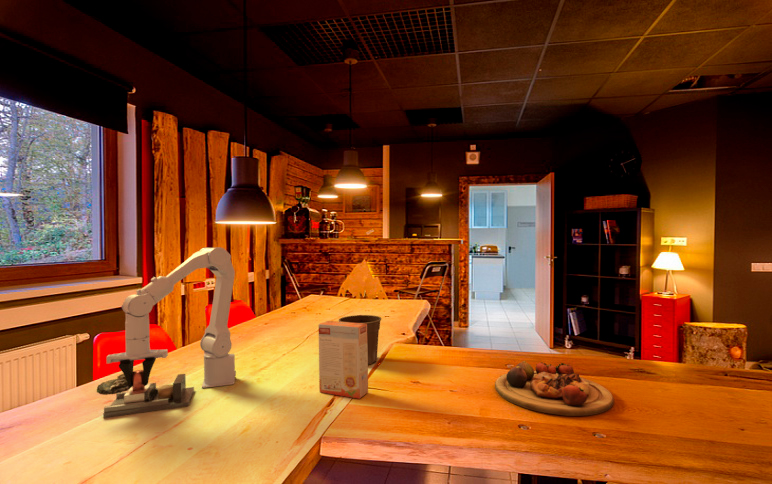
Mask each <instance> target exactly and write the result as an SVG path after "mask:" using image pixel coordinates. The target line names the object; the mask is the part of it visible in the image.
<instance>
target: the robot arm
mask: <svg viewBox="0 0 772 484" xmlns="http://www.w3.org/2000/svg"><path fill="white" fill-rule="evenodd" d="M231 259H232V255H231V254H230V253H229V252H228V250H226V249H225V248H224V247H221V246H219V247H208V246H206V247H203V248H201V249H199V251H196V252H194V253H192V255H191V256H190V257H188V258H187V259H186V260H185V261H184V262H182V263H181V264H180V265H178V266H177V267H176V268H175V269H173V270H172V271H171V272H170V273H168V274H167V275H166V276H164V275H163V276H161V275H159V276H158V277H155V276H153V277H152V278H151V279H150V282H149V283H148V284H147V285H145V286H144V287H142V288H141V289H140V288H139V289H137V290H136V291H135V292H136V294H130V295H128V296H127V297H126V298H125V299H124V300H123V302H122V304H121V309H122V310H123V312H124V314H125V322H124V326H125V327H124V329H125V335H124V337H125V352H120V353H113V354H108V355H107V356H106V364H112V363H119V364H118V368H119V369H120V370H121V372H122V374H124V375H125V377H126V380H127V383H128V387H129V388H130V387H132V372H133V371H134V363H135V361H138V360H139V361H141V360H143V361H142V364H141V365H142V370H143V372H144V379H143V385H144V386H146V385H147V384H149V380H150V376H151V375H150V374H151V372H152V368H153V367H154V364H155V362H156V360H157V359H159V358H160V359H161V358H162V359H165V358H167V357H168V355H169V354H168V349H167V348H166V349H151V347H150V346H151V345H150V339H151V338H150V314H149V313H151V311H152V310H153V307H154V306H155V305H156V304H158V303H160V301H162V300H163V299H164V298H166V296H168V295H169V294H171V293H172V292H173V291H174V287H175V285H176V284H177V283H178V282H180V281H181V280H183V279H185V278H186V277H187V276H188V275H190V274H191V273H193V272H195V271H196V270H198V269H204V268H205V269H208V270H210V271H211V272H212V274H214V276H215V277H216V280H215V286H214V292H213V300H212V304H211V305H212V306H211V307H212V308H211V312H210V319H209V325H207V327H206V328H205V329H204V335H203V336H202V338H201V339H200V348H201V350H202V351H203V352H204V353H203V375H204V376H203V382H202V384H201V389H202V388H203V389H204V388H205V389H206V388H212V387H213V388H215V387H222V386H230V385H235V379H236V375H237V374H236V373H237V372H236V370H235V369H236V368H235V367H236V363H235V358H236V357H235V353H230V352H231V349H232V347H233V345H232V340H231V331H230V329H229V326H228V323H229V322H228V321H229V317H230V308H231V301H232V294H233V287H234V282H235V281H234V280H235V275H236V272H235V269H234V266H233V264H232V260H231Z"/></svg>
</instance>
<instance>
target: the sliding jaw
mask: <svg viewBox="0 0 772 484" xmlns="http://www.w3.org/2000/svg"><path fill="white" fill-rule="evenodd" d="M143 379H144V372H143V369H137V370H133V372H132V387H131V388H130V389H129V390H126V392H127V393H126V394H125V395H124V404H129V403H137V402H145V401H151V400H152V399H153V397H154V396H155V394H156V388H157V383H156V382H151V383H148V384H147V385H146V386H144V385H143Z"/></svg>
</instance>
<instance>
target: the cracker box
mask: <svg viewBox="0 0 772 484" xmlns="http://www.w3.org/2000/svg"><path fill="white" fill-rule="evenodd" d="M368 365H369V364H368V348H367V324H363V323H350V322H339V321H337V320H335V321H333V320H326V321H324V322H320V323H319V324H318V372H319V373H318V375H319V376H318V377H319V378H318V379H319V381H318V382H319V385H318V387H319V393H323V394H329V395H334V396H335V395H336V396H341V397H346V398H353V399H357V400H358V399H359V400H360V399H361V398H362V397H364V396H365V395H366V394H368V393H369V369H368V368H369V366H368Z"/></svg>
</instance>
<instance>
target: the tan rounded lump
mask: <svg viewBox="0 0 772 484" xmlns="http://www.w3.org/2000/svg"><path fill="white" fill-rule="evenodd" d="M157 388H158V400H160V399H168V398H169V399H171V398H173V384H164V385H161V386H159V387H157Z"/></svg>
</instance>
